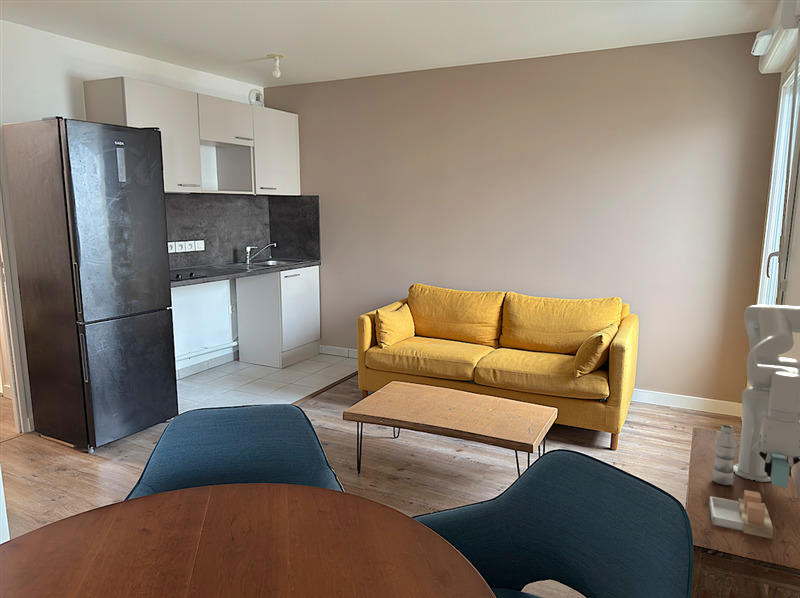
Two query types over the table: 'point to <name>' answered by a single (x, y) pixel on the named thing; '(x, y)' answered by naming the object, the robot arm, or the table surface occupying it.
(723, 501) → the tray
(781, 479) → the bar
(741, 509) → the beige gold flat block
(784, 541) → the table surface
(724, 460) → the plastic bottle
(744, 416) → the robot arm
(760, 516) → the peach cube
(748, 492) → the tan cube
